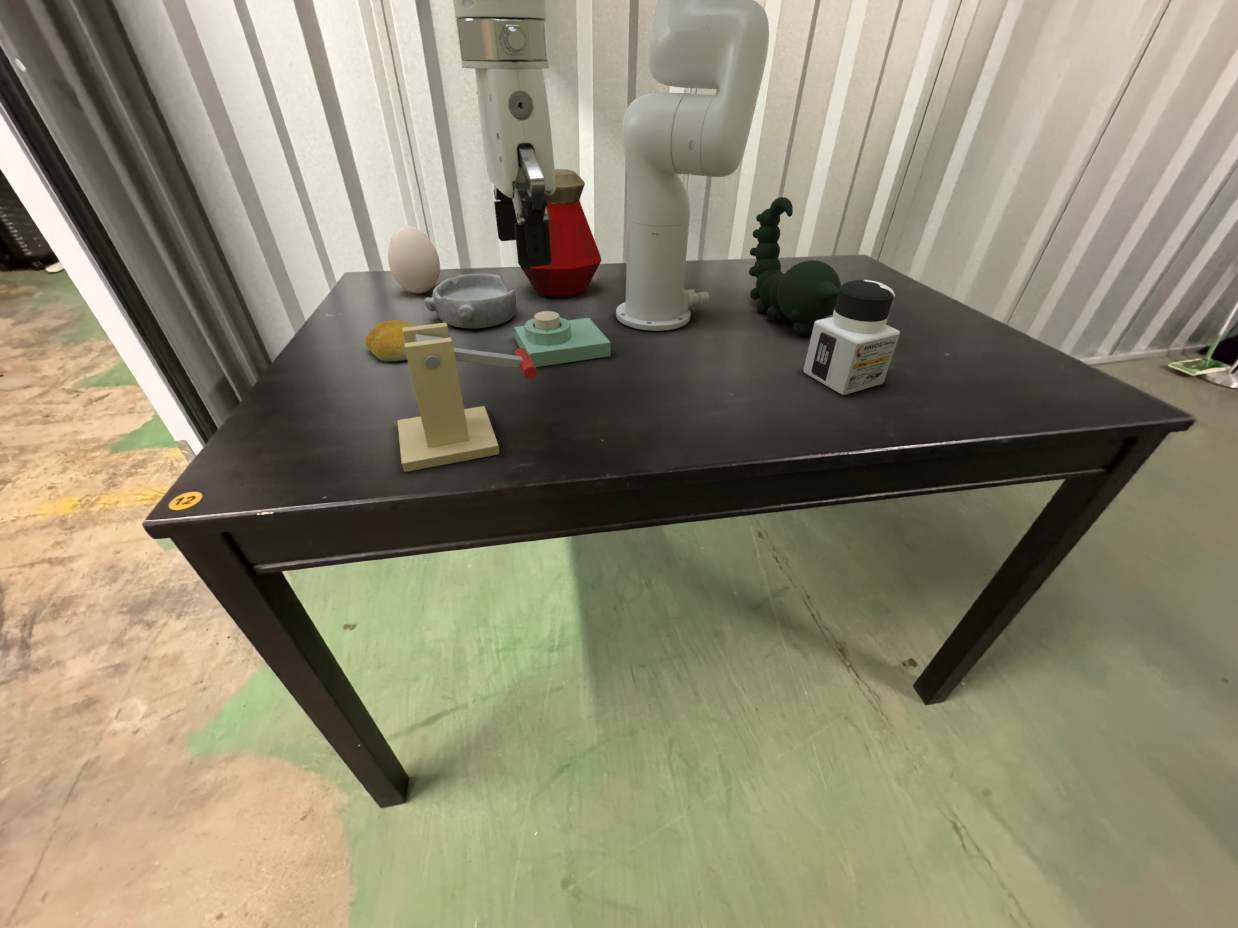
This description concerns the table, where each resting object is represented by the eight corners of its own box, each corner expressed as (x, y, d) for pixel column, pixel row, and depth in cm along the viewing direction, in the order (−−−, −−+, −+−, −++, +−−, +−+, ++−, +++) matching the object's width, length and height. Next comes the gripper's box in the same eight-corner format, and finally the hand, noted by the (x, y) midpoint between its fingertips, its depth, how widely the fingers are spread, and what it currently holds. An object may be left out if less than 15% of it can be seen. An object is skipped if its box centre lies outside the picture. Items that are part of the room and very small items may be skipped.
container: (842, 396, 72) (871, 299, 64) (801, 372, 77) (823, 280, 70) (884, 384, 75) (916, 290, 67) (841, 362, 80) (866, 272, 73)
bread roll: (385, 369, 76) (378, 342, 74) (361, 347, 82) (354, 322, 79) (440, 353, 81) (435, 327, 78) (414, 334, 86) (409, 309, 84)
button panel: (589, 330, 88) (589, 306, 86) (610, 356, 81) (610, 330, 78) (515, 340, 85) (512, 315, 82) (530, 368, 77) (528, 341, 75)
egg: (454, 292, 102) (443, 226, 95) (412, 304, 97) (398, 235, 90) (427, 281, 106) (415, 218, 100) (386, 292, 101) (370, 226, 94)
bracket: (485, 414, 67) (470, 312, 59) (499, 454, 60) (484, 345, 53) (399, 428, 64) (372, 323, 56) (404, 472, 57) (373, 360, 50)
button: (556, 321, 82) (555, 309, 81) (562, 330, 79) (562, 318, 78) (532, 324, 81) (531, 312, 80) (538, 333, 78) (537, 321, 77)
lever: (524, 364, 63) (528, 344, 62) (535, 383, 59) (539, 363, 58) (412, 350, 57) (414, 328, 56) (415, 370, 54) (418, 347, 53)
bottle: (587, 275, 111) (585, 163, 99) (613, 296, 101) (615, 175, 89) (511, 284, 106) (499, 167, 94) (531, 307, 96) (521, 180, 84)
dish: (489, 295, 101) (486, 267, 98) (536, 316, 93) (534, 287, 90) (417, 315, 92) (410, 285, 89) (461, 340, 84) (456, 308, 82)
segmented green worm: (730, 307, 102) (800, 352, 82) (741, 195, 92) (824, 212, 72) (776, 304, 104) (856, 346, 83) (792, 193, 94) (887, 210, 74)
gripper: (576, 48, 42) (583, 273, 52) (523, 47, 55) (537, 228, 65) (477, 48, 40) (505, 282, 50) (446, 47, 53) (473, 234, 63)
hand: (523, 251), depth 58 cm, fingers open, 9 cm apart
